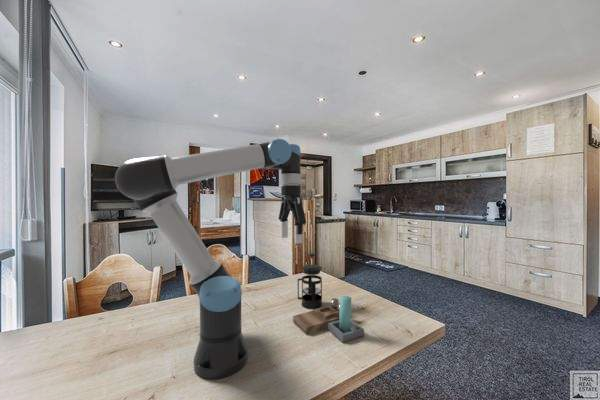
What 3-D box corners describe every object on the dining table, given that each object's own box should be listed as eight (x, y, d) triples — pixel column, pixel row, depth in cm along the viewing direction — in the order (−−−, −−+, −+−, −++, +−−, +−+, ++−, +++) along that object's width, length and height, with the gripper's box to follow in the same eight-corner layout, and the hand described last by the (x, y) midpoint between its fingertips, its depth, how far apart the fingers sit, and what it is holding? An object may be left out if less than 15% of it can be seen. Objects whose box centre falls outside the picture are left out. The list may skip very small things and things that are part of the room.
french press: (321, 299, 117) (321, 251, 117) (325, 308, 108) (325, 255, 108) (296, 301, 116) (296, 251, 115) (298, 310, 106) (298, 256, 106)
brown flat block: (306, 336, 87) (306, 324, 87) (293, 323, 96) (293, 312, 96) (342, 324, 95) (342, 313, 95) (327, 313, 104) (327, 303, 104)
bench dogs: (341, 322, 96) (341, 306, 96) (329, 313, 103) (329, 299, 103) (347, 320, 97) (347, 305, 97) (335, 312, 105) (335, 297, 104)
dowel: (342, 335, 86) (343, 301, 85) (337, 329, 89) (337, 296, 89) (352, 333, 87) (353, 299, 87) (346, 327, 91) (347, 295, 90)
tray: (342, 343, 82) (342, 335, 82) (328, 330, 91) (328, 323, 90) (364, 336, 86) (364, 329, 86) (348, 324, 94) (348, 317, 94)
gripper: (315, 184, 86) (315, 244, 87) (287, 186, 109) (287, 235, 109) (295, 183, 83) (295, 246, 83) (270, 186, 106) (271, 236, 106)
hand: (291, 240), depth 96 cm, fingers open, 13 cm apart
